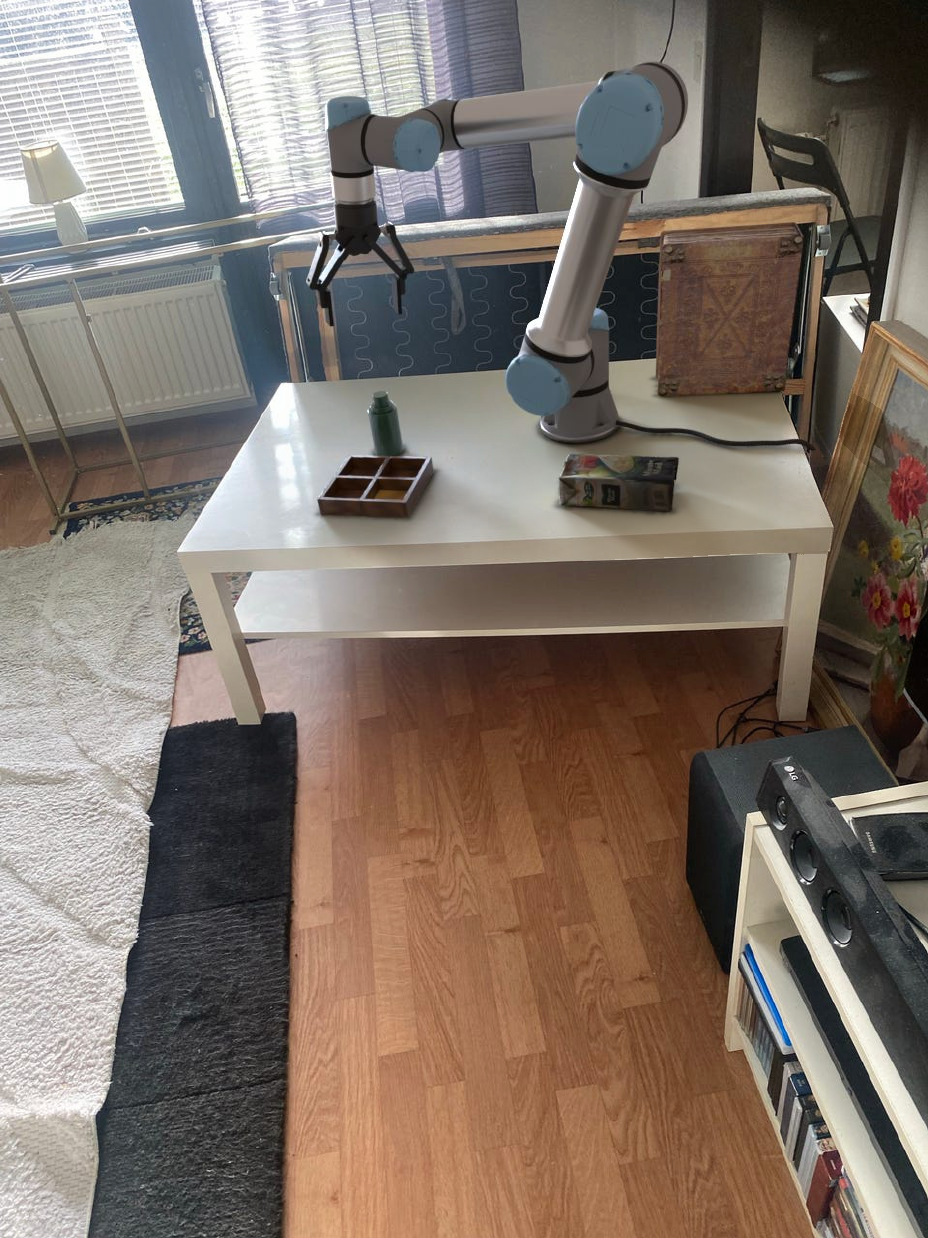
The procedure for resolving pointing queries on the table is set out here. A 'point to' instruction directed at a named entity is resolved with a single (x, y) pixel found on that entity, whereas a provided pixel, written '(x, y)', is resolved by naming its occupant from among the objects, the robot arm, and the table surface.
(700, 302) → the book
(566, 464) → the juice carton
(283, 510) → the table surface
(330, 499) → the tray
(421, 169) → the robot arm
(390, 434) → the green bottle
